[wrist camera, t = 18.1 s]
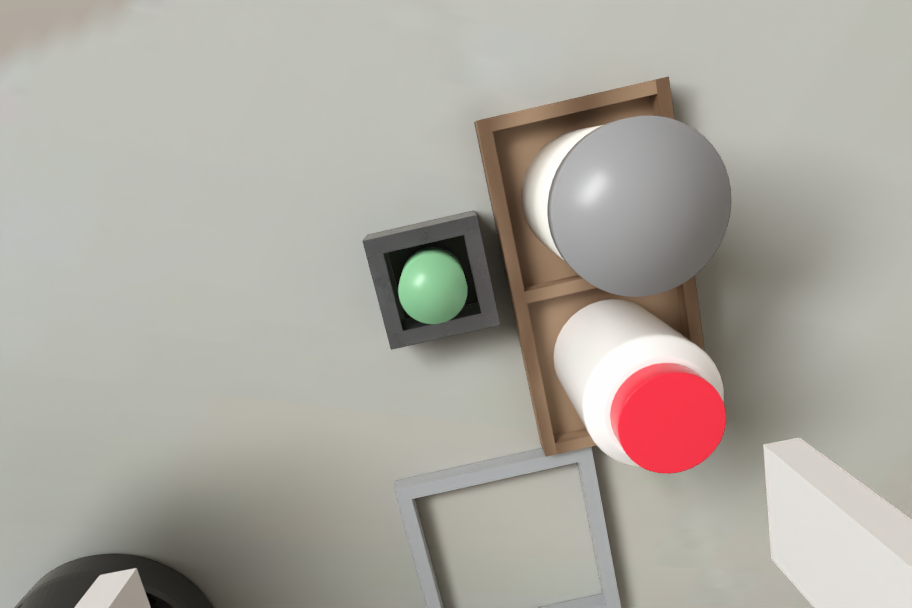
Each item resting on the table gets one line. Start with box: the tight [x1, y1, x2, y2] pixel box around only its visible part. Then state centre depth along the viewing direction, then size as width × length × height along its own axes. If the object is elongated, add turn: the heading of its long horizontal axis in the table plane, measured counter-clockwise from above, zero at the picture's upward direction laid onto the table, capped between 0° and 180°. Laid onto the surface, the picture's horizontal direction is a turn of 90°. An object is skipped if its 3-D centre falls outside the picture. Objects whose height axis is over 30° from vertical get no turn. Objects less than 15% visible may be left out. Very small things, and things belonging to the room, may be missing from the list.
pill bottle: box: [553, 299, 726, 473], centre depth 36 cm, size 8×8×11 cm
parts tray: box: [394, 447, 621, 608], centre depth 45 cm, size 14×14×1 cm
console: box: [363, 211, 500, 350], centre depth 39 cm, size 7×7×3 cm
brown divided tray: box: [474, 77, 704, 457], centre depth 40 cm, size 12×22×2 cm, turn 13°
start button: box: [398, 247, 467, 324], centre depth 37 cm, size 4×4×4 cm
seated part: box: [521, 116, 731, 297], centre depth 33 cm, size 8×8×11 cm
